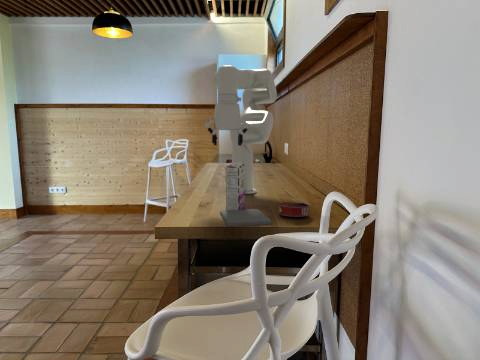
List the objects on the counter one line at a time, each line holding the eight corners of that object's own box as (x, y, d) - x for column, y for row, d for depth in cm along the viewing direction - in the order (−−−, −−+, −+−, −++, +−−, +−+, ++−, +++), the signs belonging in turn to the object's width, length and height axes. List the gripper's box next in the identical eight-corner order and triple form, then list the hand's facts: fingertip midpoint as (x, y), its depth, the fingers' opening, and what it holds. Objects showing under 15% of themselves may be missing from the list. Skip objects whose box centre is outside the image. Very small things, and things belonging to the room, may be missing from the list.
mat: (220, 213, 112) (220, 210, 112) (257, 211, 114) (257, 208, 114) (228, 226, 96) (228, 222, 96) (271, 223, 99) (271, 220, 99)
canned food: (286, 224, 114) (290, 197, 117) (313, 225, 108) (317, 196, 111) (269, 213, 106) (274, 184, 109) (297, 213, 100) (302, 182, 103)
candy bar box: (232, 206, 124) (232, 163, 122) (245, 207, 123) (245, 163, 121) (225, 213, 113) (225, 166, 111) (239, 214, 112) (239, 166, 110)
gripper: (247, 101, 131) (246, 145, 133) (203, 100, 128) (204, 145, 130) (252, 99, 124) (251, 145, 126) (205, 98, 120) (206, 145, 123)
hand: (227, 145), depth 128 cm, fingers open, 9 cm apart
